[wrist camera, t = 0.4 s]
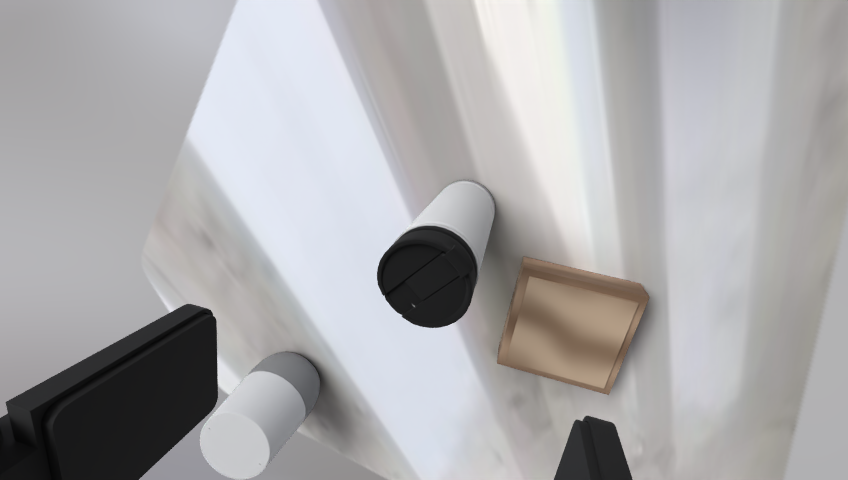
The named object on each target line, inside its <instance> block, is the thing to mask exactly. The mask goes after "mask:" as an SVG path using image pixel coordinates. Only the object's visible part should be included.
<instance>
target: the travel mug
mask: <svg viewBox="0 0 848 480" xmlns="http://www.w3.org/2000/svg"><path fill="white" fill-rule="evenodd" d="M494 215H495V203H494V199H493V197H492V195H491V193H490V192H489V191H488V190H487V189H486V188H485V187H484V186H483V185H481V184H480V183H478V182H475V181H472V180H459V181H455V182H453V183H451V184H449V185H448V186H446V187H445V189H444V190H443V191H442V192H441V193H440V194H439V195H438V196H437V197H436V198H435V199H434V200H433V201H432V202H431V203H430V204H429V205H428V207H427V208H426V209H425V210H424V211H423V212H422V213H421V214H420V215H419V216H418V217H417V218H416V219H415V220H414V221H413V222H412V224H411V225H410V226H409V227H408V228H407V229H406V230H405V231H404V232H403V233H402V234H401V235H400V236H399V237H398V238H397V239H396V241H395V243H394V244H393V245H392V246H391V247H390V248H389V249H388V250H387V251H386V252H385V254H384V255H383V257H382V258H381V260H380V263H379V266H378V271H377V280H378V286H379V288H380V290H381V292H382V294H383V296H384V295H385V298H386V300H387V302H388V303H389V304H390V306H391V307H392V308H393V309H394V310H395V311H396V312H397V313H399V314H401V315H402V317H403V318H405V319H406V320H408V321H409V322H411V323H412V324H415V325H418V326H422V327H429V328H438V327H443V326H448V325H450V324H452V323H454V322H456V321H457V320H459V319H460V318H461V317H462V316H463V315H464V314H465V313H466V311H467V309H468V307H469V305H470V303H471V299H472V296H473V292H474V288H475V286H476V284H477V280H478V276H479V272H480V269H481V265H482V261H483V257H484V253H485V250H486V246H487V242H488V238H489V234H490V231H491V227H492V223H493V219H494Z"/></svg>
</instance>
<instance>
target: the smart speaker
mask: <svg viewBox="0 0 848 480" xmlns="http://www.w3.org/2000/svg"><path fill="white" fill-rule="evenodd" d="M319 391H320V379H319V375H318V373H317V371H316V369H315V368H314V366H313V365H312V364H311V363H310V362H309V361H308V360H307V359H306V358H304V357H302V356H301V355H298V354H296V353H292V352H280V353H276V354H273V355H271V356H269V357H267V358H266V359H264V360H263V361H261V362H260V363H259V364H258V365H257V366H256V367H255V368H254V369H252V371H251V372H250V373H249V374H248V375H247V376H246V377H245V378H244V379H243V380H242V381H241V383H240V384H239V385H238V386H237V387H236V388H235V389H234V391H233V392H232V393H231V394H230V395H229V396H228V398H227V399H226V400H225V401H224V402H223V403H222V405H221V406H220V407H219V408H218V409H217V411H215V413H214V414H213V415H212V416H211V417H210V418H209V419H208V421H207V422H206V423H205V425H204V426H203V428H202V431H201V435H200V446H201V450H202V453H203V455H204V457H205V459H206V460H207V462H208V463H209V464H210V465H211V466H212V467H213V468H214V469H215V470H216V471H218V472H219V473H220V474H222V475H224V476H226V477H229V478H233V479H238V480H239V479H240V480H242V479H249V478H252V477H255V476H257V475H258V474H260V473H261V472H262V471H263V470H264V469H265V467H267V465H268V464H269V463H270V461H271V460H272V459H273V458H274V457H275V456H276V454H277V453H278V452H279V450H280V449H281V448H282V447H283V446H284V444H285V443H286V442H287V441H288V439H289V438H290V437H291V436H292V435H293V434H294V432H295V431H296V430H297V429H298V427H299V426H300V425H301V424H302V422H303V421H304V420H305V418H306V417H307V416H308V414H309V413H310V412H311V410H312V409H313V407H314V405H315V403H316V401H317V398H318V395H319Z"/></svg>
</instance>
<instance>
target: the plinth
mask: <svg viewBox="0 0 848 480" xmlns="http://www.w3.org/2000/svg"><path fill="white" fill-rule="evenodd" d="M648 300H649V295H648V294H647V292H646V291H645V289H644V288H643V286H642V285H641V284H640V283H635V282H631V281H627V280H622V279H618V278H614V277H610V276H605V275H601V274H597V273H592V272H588V271H584V270H579V269H575V268H571V267H566V266H562V265H558V264H554V263H549V262H545V261H541V260H536V259H532V258H528V257H523V260H522V264H521V267H520V271H519V275H518V278H517V282H516V286H515V290H514V293H513V297H512V301H511V304H510V308H509V312H508V315H507V319H506V323H505V326H504V330H503V334H502V337H501V341H500V345H499V349H498V359H497V364H501V365H504V366H508V367H512V368H515V369H519V370H522V371H526V372H529V373H533V374H536V375H540V376H544V377H547V378H551V379H554V380H558V381H561V382H565V383H568V384H572V385H575V386H579V387H583V388H586V389H590V390H593V391H597V392H600V393H604V394H607V395H609V393H610V391H611V388H612V386H613V383H614V381H615V379H616V376H617V374H618V371H619V369H620V367H621V364H622V362H623V360H624V357H625V355H626V352H627V350H628V348H629V345H630V343H631V340H632V338H633V336H634V333H635V331H636V328H637V326H638V324H639V321H640V319H641V317H642V314H643V312H644V309H645V307H646V305H647V302H648Z"/></svg>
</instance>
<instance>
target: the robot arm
mask: <svg viewBox="0 0 848 480" xmlns="http://www.w3.org/2000/svg"><path fill="white" fill-rule="evenodd" d="M217 398H218V381H217V327H216V319H215V317H213V313H212V312H211V310H209V309H207V308H203V307H200V306H196V305H192V304H186V305H184V306H182V307H180V308H178V309H176V310H174V311H173V312H171V313H169V314H167V315H165V316H164V317H162V318H160V319H158V320H156V321H154V322H152V323H150V324H149V325H147V326H145V327H143V328H141V329H140V330H138V331H136V332H134V333H132V334H130V335H129V336H127V337H125V338H123V339H121V340H119V341H117V342H116V343H114V344H112V345H110V346H108V347H106V348H105V349H103V350H101V351H99V352H97V353H95V354H93V355H92V356H90V357H88V358H86V359H84V360H82V361H81V362H79V363H77V364H75V365H73V366H71V367H70V368H68V369H66V370H64V371H62V372H60V373H59V374H57V375H55V376H53V377H51V378H49V379H47V380H46V381H44V382H42V383H40V384H38V385H36V386H35V387H33V388H31V389H29V390H27V391H25V392H24V393H22V394H20V395H18V396H16V397H14V398H13V399H11V400H9V401H7V402H6V406H7V410H8V414H7V415H5V416H3V417H1V418H0V480H139V479H140V478H141V477H142V476H143V475H144V474H145V473H146V472H147V471H148V470H149V469H150V468H151V467H152V466H153V465H155V463H157V462H158V461H159V460H160V459H161V458H162V457H163V456H164V455H165V454H166V453H167V452H168V451H170V449H172V447H174V446H175V445H176V444H177V443H178V442H179V441H180V440H181V439H182V438H183V437H184V436H185V435H187V434H188V433H189V432H190V431H191V430H192V429H193V428H194V427H195V426H196V425H197V424H198V423H199V422H200V421H201V420H203V419H204V418H205V417H206V416H207V415H208V414H209V413H210V412H211V411H212V410H213V408H214V407H215V405H216V402H217ZM554 480H632V476H631V473H630V470H629V467H628V464H627V461H626V458H625V455H624V452H623V448H622V445H621V442H620V439H619V436H618V433H617V430H616V427H615V425H614V424H613V423H612V422H608V421H604V420H601V419H597V418H594V417H590V416H585V418H584V419H583V421H580V420H575V422H574V424H573V427H572V429H571V432H570V435H569V438H568V441H567V444H566V447H565V449H564V452H563V455H562V458H561V461H560V464H559V467H558V469H557V472H556V475H555V478H554Z"/></svg>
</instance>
